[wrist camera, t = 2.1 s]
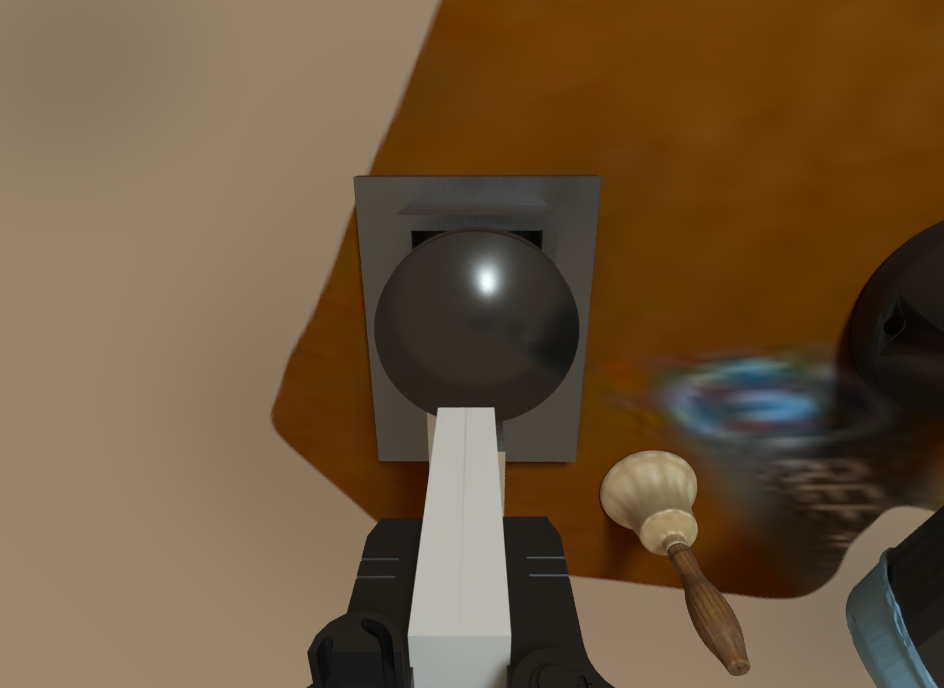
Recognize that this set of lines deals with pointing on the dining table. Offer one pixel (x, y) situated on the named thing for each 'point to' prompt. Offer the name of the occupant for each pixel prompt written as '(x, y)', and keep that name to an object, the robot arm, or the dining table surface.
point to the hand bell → (674, 540)
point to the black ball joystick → (476, 324)
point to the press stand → (496, 206)
